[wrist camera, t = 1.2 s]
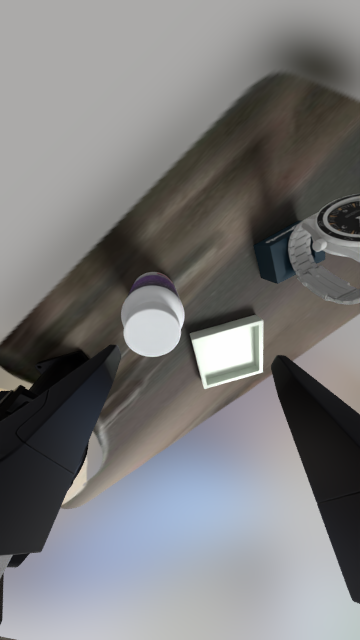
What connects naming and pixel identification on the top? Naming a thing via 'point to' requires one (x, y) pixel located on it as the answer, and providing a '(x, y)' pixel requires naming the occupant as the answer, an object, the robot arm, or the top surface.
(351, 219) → the watch
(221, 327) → the tray
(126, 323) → the pill bottle
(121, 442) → the top surface
